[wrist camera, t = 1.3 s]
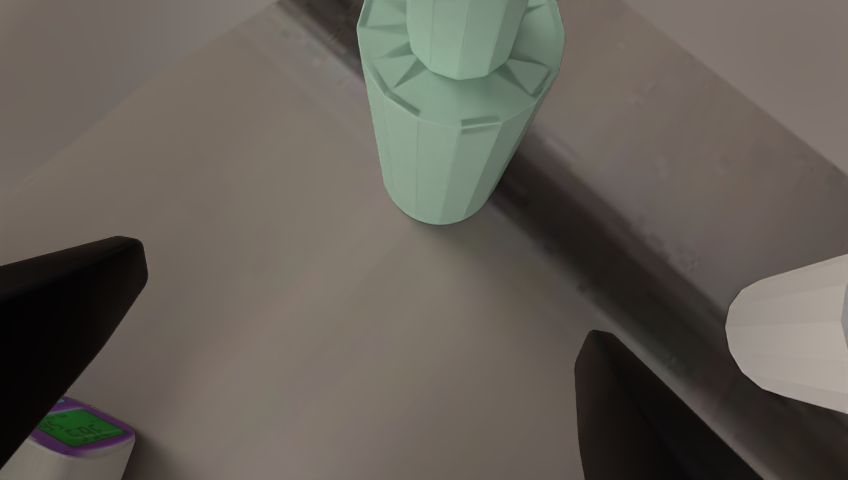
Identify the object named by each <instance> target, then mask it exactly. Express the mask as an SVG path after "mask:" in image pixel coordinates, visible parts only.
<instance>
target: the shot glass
mask: <svg viewBox="0 0 848 480" xmlns="http://www.w3.org/2000/svg"><path fill="white" fill-rule="evenodd" d="M725 330H726V335H727V340H728V346H729V351H730V353H731V354H732V356H733V358H734V359H735V361H736V363H737V364H738V366H739V368H740V369H741V371H742V373H744V374H745V375H746V376H747V377H748V378H750V379H751V380H752V381H753V382H754V383H756V384H757V385H758V386H759V387H761V388H762V389H765V390H768V391H771V392H773V393H776V394H779V395H782V396H785V397H789V398H792V399H796V400H800V401H803V402H807V403H810V404H814V405H818V406H821V407H825V408H829V409H832V410H836V411H839V412H843V413H847V414H848V254H846V255H842V256H839V257H836V258H832V259H829V260H826V261H822V262H819V263H815V264H812V265H809V266H805V267H802V268H799V269H795V270H792V271H789V272H785V273H782V274H778V275H775V276H772V277H768V278H765V279H762V280H759V281H757V282H755V283H753V284H751V285H750V286H748V287H746V288H744V289H742V290H741V291H740V293H739V294H738V295H737V297H736V298H735V300H734V301H733V302H732V304H731V305H730V307H729V311H728V316H727V321H726V326H725Z"/></svg>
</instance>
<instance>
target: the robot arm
mask: <svg viewBox="0 0 848 480" xmlns="http://www.w3.org/2000/svg"><path fill="white" fill-rule="evenodd" d="M147 279H148V270H147V264H146V258H145V252H144V247H143V244H142V243H141V241H139V240H138V239H134V238H129V237H124V236H114V237H110V238H107V239H103V240H99V241H95V242H91V243H87V244H84V245H80V246H76V247H72V248H68V249H64V250H60V251H57V252H53V253H49V254H45V255H41V256H37V257H34V258H30V259H26V260H22V261H18V262H14V263H11V264H7V265H3V266H0V470H1V469H2V468H3V467H4V465H5V464H6V463H7V462H8V461H9V459H10V458H11V457H12V456H13V455H14V453H15V452H16V451H17V450H18V449H19V447H20V446H21V445H22V444H23V443H24V441H25V440H26V439H27V438H28V437H29V436H30V434H31V433H32V432H33V431H34V430H35V428H36V427H37V426H38V425H39V424H40V422H41V421H42V420H43V419H44V418H45V416H46V415H47V414H48V413H49V412H50V410H51V409H52V408H53V407H54V406H55V404H56V403H57V402H58V401H59V400H60V399H61V397H62V396H63V395H64V394H65V393H66V391H67V390H68V389H69V388H70V387H71V385H72V384H73V383H74V382H75V381H76V379H77V378H78V377H79V376H80V375H81V373H82V372H83V371H84V370H85V369H86V367H87V366H88V365H89V364H90V363H91V362H92V360H93V359H94V358H95V357H96V355H97V354H98V353H99V352H100V350H101V349H102V348H103V347H104V345H105V344H106V342H107V341H108V340H109V338H110V337H111V335H112V334H113V332H114V331H115V330H116V328H117V327H118V325H119V324H120V322H121V321H122V319H123V318H124V316H125V315H126V313H127V312H128V310H129V309H130V307H131V306H132V304H133V303H134V301H135V300H136V298H137V297H138V295H139V294H140V293H141V291H142V290H143V288H144V287H145V285H146V282H147ZM574 373H575V391H576V408H577V426H578V440H579V448H580V455H581V461H582V467H583V472H584V478H585V480H764V479H763V477H762V476H761V475H760V474H758V473H757V472H756V471H755V470H754V469H753V468H752V467H751V466H750V465H749V464H748V463H747V462H746V461H745V460H744V459H743V458H742V457H741V456H740V455H739V454H738V453H737V452H736V451H735V450H734V449H732V448H731V447H730V446H729V445H728V444H727V443H726V442H725V441H724V440H723V439H722V438H721V437H720V436H719V435H718V434H717V433H716V432H715V431H714V430H713V429H712V428H711V427H710V426H709V425H708V424H706V423H705V422H704V421H703V420H702V419H701V418H700V417H699V416H698V415H697V414H696V413H695V412H694V411H693V410H692V409H691V408H690V407H689V406H688V405H687V404H686V403H685V402H684V401H683V400H682V399H680V398H679V397H678V396H677V395H676V394H675V393H674V392H673V391H672V390H671V389H670V388H669V387H668V386H667V385H666V384H665V383H664V382H663V381H662V380H661V379H660V378H659V377H658V376H657V375H656V374H654V373H653V372H652V371H651V370H650V369H649V368H648V367H647V366H646V365H645V364H644V363H643V362H642V361H641V360H640V359H639V358H638V357H637V356H636V355H635V354H634V353H633V352H632V351H631V350H630V349H628V348H627V347H626V346H625V345H624V344H623V343H622V342H621V341H620V340H619V339H618V338H617V337H616V336H615V335H614V334H612V333H609V332H604V331H599V330H592V331H590V332H589V333H588V335H587V337H586V339H585V341H584V343H583V346H582V348H581V350H580V352H579V355H578V357H577V359H576V362H575V370H574Z"/></svg>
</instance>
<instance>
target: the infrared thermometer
mask: <svg viewBox="0 0 848 480" xmlns="http://www.w3.org/2000/svg"><path fill="white" fill-rule="evenodd" d="M134 443H135V433H134V431H133V430H132V429H131V428H130V427H129V426H127V425H126V424H124V423H123V422H121V421H119V420H117V419H115V418H114V417H112V416H110V415H108V414H106V413H104V412H102V411H100V410H98V409H96V408H93V407H91V406H89V405H86V404H84V403H82V402H79V401H76V400H74V399H71V398H68V397H65V396H62V397H61V399H60V400H59V401H58V402H57V403H56V404H55V406H54V407H53V408H52V409H51V410H50V412H49V413H48V414H47V415H46V416H45V418H44V419H43V420H42V421H41V422H40V424H39V425H38V426H37V427H36V428H35V430H34V431H33V432H32V433H31V434H30V436H29V437H28V438H27V439H26V440H25V441H24V443H23V444H22V445H21V446H20V447H19V449H18V450H17V451H16V452H15V453H14V455H13V456H12V457H11V458H10V459H9V461H8V462H7V463H6V464H5V465H4V467H3V468H2V469H1V470H0V480H121V479H122V476H123V473H124V471H125V468H126V465H127V462H128V460H129V457H130V454H131V451H132V449H133V446H134Z"/></svg>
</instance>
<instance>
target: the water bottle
mask: <svg viewBox="0 0 848 480" xmlns="http://www.w3.org/2000/svg"><path fill="white" fill-rule="evenodd" d="M357 35H358V41H359V47H360V54H361V60H362V66H363V71H364V77H365V82H366V88H367V93H368V98H369V104H370V109H371V114H372V120H373V125H374V131H375V136H376V141H377V147H378V152H379V157H380V163H381V168H382V174H383V179H384V184H385V187H386V189H387V191H388V193H389V195H390V197H391V199H392V200H393V201H394V203H395V204H396V205H397V206H398V207H399V208H400V209H401V210H402V211H403V212H404V213H406V214H407V215H409V216H410V217H412V218H414V219H416V220H419V221H421V222H425V223H429V224H438V225H444V224H452V223H456V222H459V221H462V220H464V219H466V218H468V217H470V216H472V215H473V214H474V213H476V212H477V211H478V210H479V209H480V208H481V207H482V206H483V205H484V204H485V203H486V201H487V200H488V198H489V197H490V195H491V194H492V192H493V191H494V189H495V187H496V186H497V184H498V182H499V180H500V178H501V177H502V175H503V173H504V171H505V169H506V167H507V166H508V164H509V162H510V160H511V158H512V157H513V155H514V153H515V151H516V149H517V147H518V146H519V144H520V142H521V140H522V138H523V137H524V135H525V133H526V131H527V129H528V127H529V126H530V124H531V122H532V120H533V118H534V117H535V115H536V113H537V111H538V109H539V107H540V106H541V104H542V102H543V100H544V98H545V97H546V95H547V93H548V91H549V89H550V87H551V86H552V84H553V82H554V80H555V78H556V77H557V75H558V72H559V69H560V64H561V59H562V53H563V48H564V42H565V32H564V28H563V24H562V21H561V17H560V13H559V9H558V5H557V2H556V0H365V1H364V4H363V8H362V11H361V14H360V18H359V21H358V24H357Z"/></svg>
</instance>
